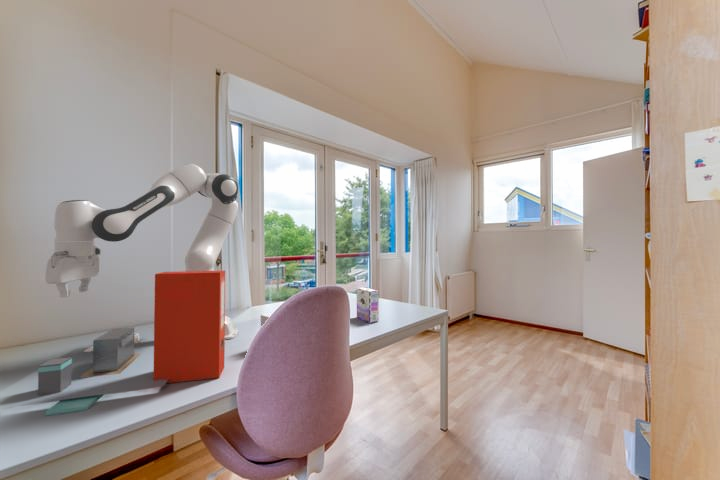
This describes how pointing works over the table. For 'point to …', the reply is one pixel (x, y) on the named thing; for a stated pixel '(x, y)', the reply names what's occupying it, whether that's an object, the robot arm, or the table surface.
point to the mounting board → (90, 372)
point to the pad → (73, 404)
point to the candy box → (367, 304)
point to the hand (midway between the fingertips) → (74, 294)
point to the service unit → (113, 350)
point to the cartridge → (54, 375)
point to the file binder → (189, 325)
